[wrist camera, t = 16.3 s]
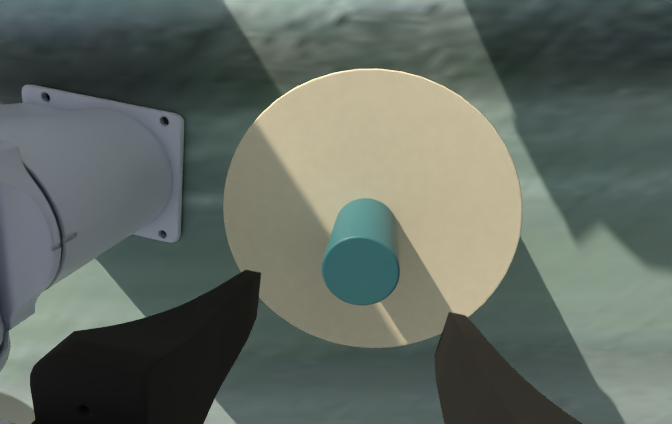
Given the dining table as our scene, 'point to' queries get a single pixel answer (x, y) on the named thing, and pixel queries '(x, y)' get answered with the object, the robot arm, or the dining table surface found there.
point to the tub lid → (373, 207)
